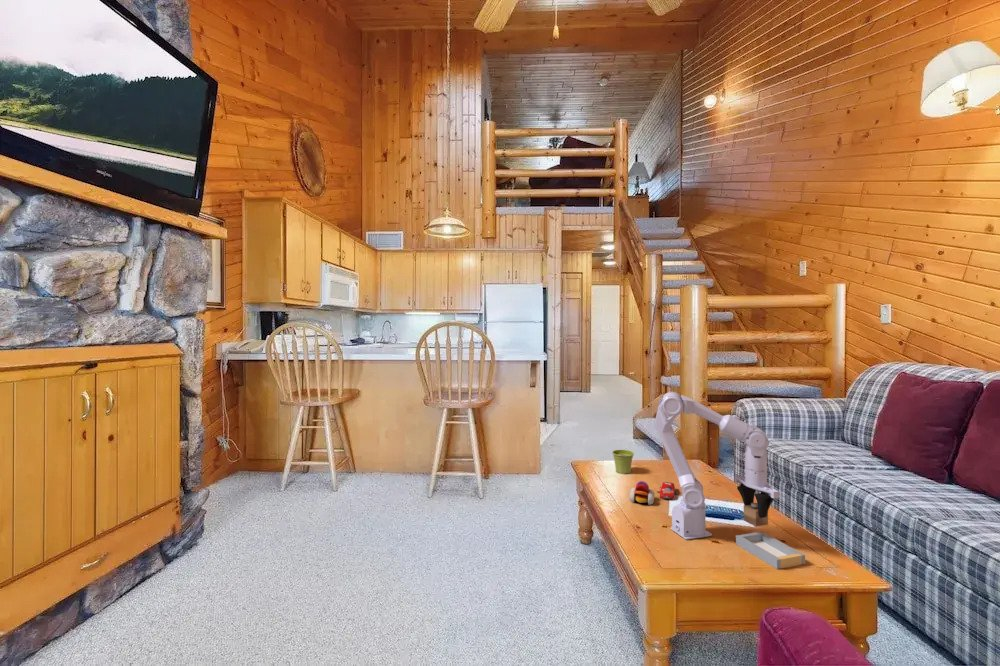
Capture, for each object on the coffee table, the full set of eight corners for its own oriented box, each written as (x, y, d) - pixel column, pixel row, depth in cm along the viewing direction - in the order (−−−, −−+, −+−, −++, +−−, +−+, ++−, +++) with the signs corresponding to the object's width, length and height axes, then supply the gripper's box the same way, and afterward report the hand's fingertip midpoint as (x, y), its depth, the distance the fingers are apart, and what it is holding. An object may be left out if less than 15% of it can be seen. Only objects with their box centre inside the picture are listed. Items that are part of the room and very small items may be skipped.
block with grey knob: (755, 526, 133) (755, 508, 133) (743, 520, 137) (743, 502, 137) (767, 524, 134) (767, 506, 134) (755, 518, 138) (755, 500, 138)
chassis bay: (776, 569, 120) (777, 559, 120) (735, 543, 134) (735, 535, 134) (805, 564, 123) (805, 555, 123) (761, 539, 137) (761, 531, 136)
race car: (674, 502, 167) (674, 491, 166) (658, 500, 169) (658, 489, 169) (676, 490, 179) (676, 480, 178) (661, 488, 181) (661, 478, 181)
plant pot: (631, 476, 194) (631, 456, 194) (609, 473, 198) (609, 453, 198) (636, 470, 202) (636, 451, 202) (615, 467, 207) (615, 448, 206)
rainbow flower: (628, 504, 164) (628, 484, 164) (631, 495, 173) (631, 476, 173) (653, 507, 161) (653, 487, 161) (654, 498, 170) (654, 479, 170)
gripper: (787, 474, 129) (787, 521, 129) (747, 460, 143) (747, 502, 143) (767, 477, 127) (767, 525, 128) (729, 462, 141) (729, 505, 142)
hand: (755, 513), depth 135 cm, fingers closed on block with grey knob, 4 cm apart
